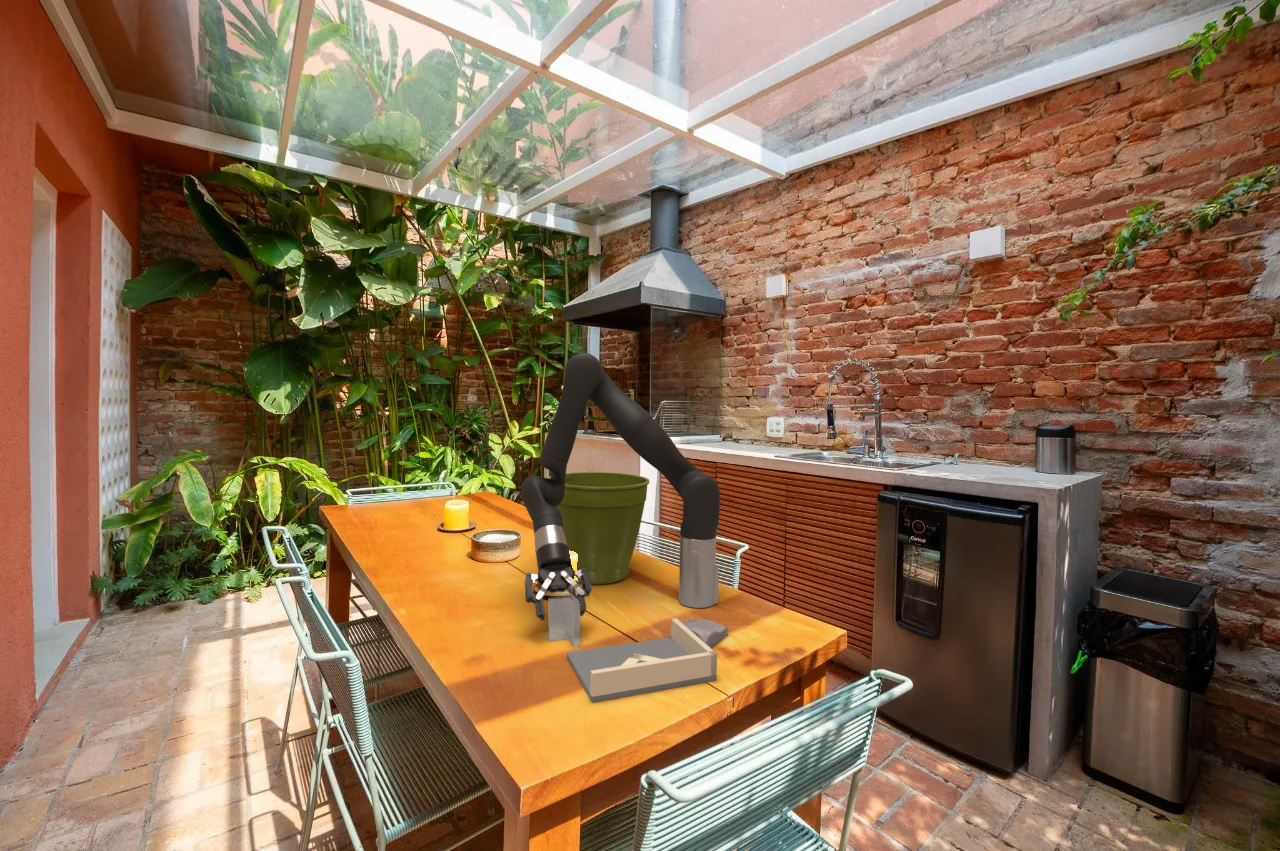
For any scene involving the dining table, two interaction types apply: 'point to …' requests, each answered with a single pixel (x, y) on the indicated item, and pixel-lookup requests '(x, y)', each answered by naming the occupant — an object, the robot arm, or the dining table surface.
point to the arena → (645, 665)
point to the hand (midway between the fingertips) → (562, 616)
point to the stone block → (707, 631)
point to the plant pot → (603, 521)
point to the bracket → (564, 619)
